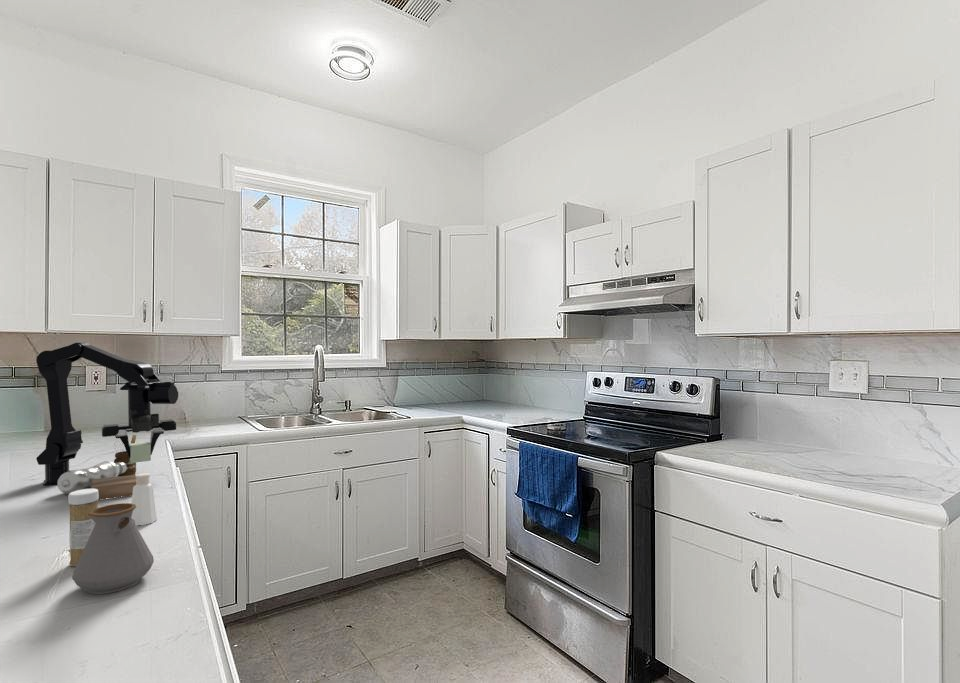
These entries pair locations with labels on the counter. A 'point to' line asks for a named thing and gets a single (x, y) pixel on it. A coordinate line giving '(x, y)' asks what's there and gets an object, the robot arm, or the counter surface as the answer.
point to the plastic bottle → (89, 476)
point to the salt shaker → (143, 501)
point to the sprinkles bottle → (81, 520)
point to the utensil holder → (126, 460)
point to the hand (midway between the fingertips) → (140, 456)
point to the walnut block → (114, 486)
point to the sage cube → (140, 452)
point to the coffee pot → (113, 552)
